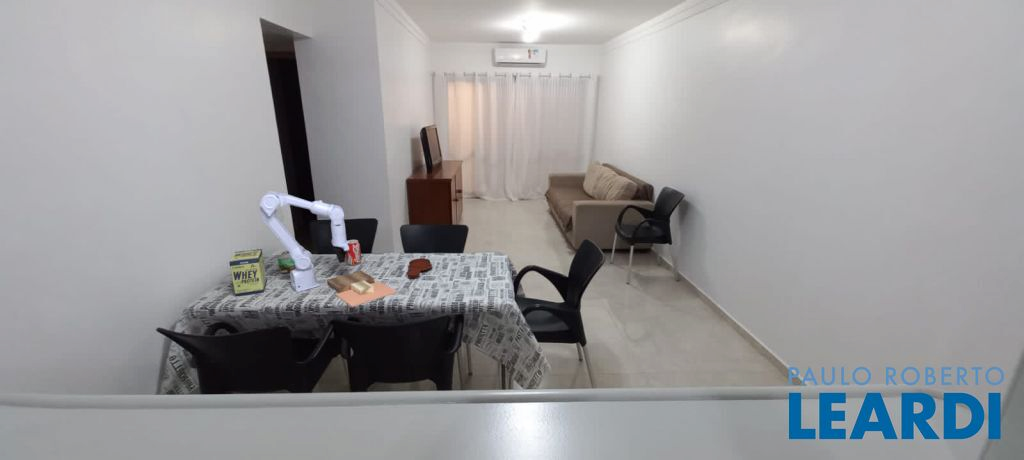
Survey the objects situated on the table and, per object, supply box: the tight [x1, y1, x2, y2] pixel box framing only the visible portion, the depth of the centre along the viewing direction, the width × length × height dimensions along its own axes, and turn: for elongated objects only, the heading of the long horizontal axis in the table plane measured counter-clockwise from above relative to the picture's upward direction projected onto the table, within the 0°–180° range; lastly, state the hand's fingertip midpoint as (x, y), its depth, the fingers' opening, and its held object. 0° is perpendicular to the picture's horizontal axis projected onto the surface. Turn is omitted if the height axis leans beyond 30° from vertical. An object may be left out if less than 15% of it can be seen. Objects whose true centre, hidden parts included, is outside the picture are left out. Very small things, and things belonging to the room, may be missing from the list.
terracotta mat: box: [335, 281, 398, 307], centre depth 176 cm, size 20×16×1 cm
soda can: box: [345, 239, 362, 266], centre depth 210 cm, size 7×7×12 cm
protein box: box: [228, 248, 268, 297], centre depth 179 cm, size 10×16×16 cm
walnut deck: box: [326, 270, 375, 294], centre depth 186 cm, size 16×13×2 cm
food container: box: [276, 250, 296, 275], centre depth 201 cm, size 12×6×10 cm, turn 179°
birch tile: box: [351, 281, 374, 296], centre depth 178 cm, size 6×9×2 cm, turn 45°
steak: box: [406, 257, 433, 280], centre depth 199 cm, size 12×20×4 cm, turn 177°
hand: (341, 262), depth 186 cm, fingers closed
